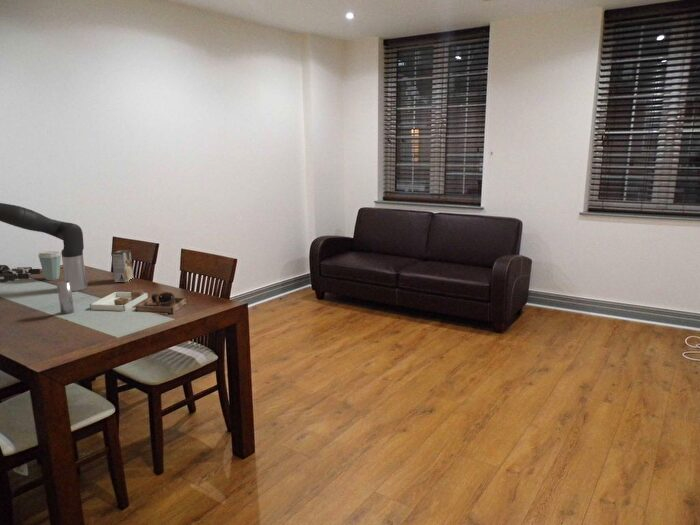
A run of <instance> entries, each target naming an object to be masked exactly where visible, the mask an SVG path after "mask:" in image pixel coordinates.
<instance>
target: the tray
mask: <svg viewBox="0 0 700 525" xmlns="http://www.w3.org/2000/svg"><path fill="white" fill-rule="evenodd" d="M131 292H132V291H129V292H128V291H127V292H126V291H114V292H112V293H109V294H108V295H106V296H104V297H102V298H100V299H98V300H95V301H94V302H92V303H90V304H89V310H94V311H96V310H97V311H116V312H117V311H118V312H119V311H120V312H125V311H127V310H130V309H131V308H132V307H134V306H137V305H139V304H141V303H142V302H144V301H146V300H147V299H149V296H148V295H149V294H148V292H143V295H141V296H140V297H138V298H136V299H134V300H132V298H131ZM119 298H128V300H129V303H127V304H125V305H115V303H114V300H116V299H119Z"/></svg>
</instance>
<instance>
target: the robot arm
mask: <svg viewBox="0 0 700 525" xmlns="http://www.w3.org/2000/svg"><path fill="white" fill-rule="evenodd" d="M0 222H2V223H5V224H8V225H9V226H10V225H11V226H14V227H17V228H19V229H23V230H28V231H33V232H39V233H42V234H43V233H44V234H47V235H50V236H52V237H54V238H56V239H59V240H62V241H63V242H62V243H63V249H61V252H60V253H61V260H62V262H61V263H62V269H63V278H64V281H70V282H71V290H72V292H77V291H84V290H85V289H87V288H88V278H87V270H86V267H85V261H84V253H83V252H84V248H85V247H84V246H85V245H84V232H83V229H82V228H81V227H80V225H78V224H76V223H72V222H69V221H68V222H66V221H61V220H57V219H52V218H50V217H47V216H45V215H43V214H41V213H39V212H38V211H34V210H32V209H29V208H26V207H23V206H20V205H14V204H9V203H5V202H4V203H3V202H0ZM30 275H41V269H40V268H32V266H29V267H28V266H26V267H24V266H23V267H19V266H17V267H13V268H11V269H10V267H9V266H8V265H6V264H0V284H6V283H8V282H14V281H19V280H29V279H30Z"/></svg>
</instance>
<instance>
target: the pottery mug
mask: <svg viewBox="0 0 700 525" xmlns="http://www.w3.org/2000/svg"><path fill="white" fill-rule="evenodd" d="M171 297H172V299H171ZM150 298H152V300H153V302H154V303H155V305H156V307H173V306H174V305H175V304H177V302H176V301H175V298H176V296H175V295H174V293H172V292H170V291H162V292H160V293H158V294H157V293H153V294H152V295H151V296H150Z"/></svg>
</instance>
